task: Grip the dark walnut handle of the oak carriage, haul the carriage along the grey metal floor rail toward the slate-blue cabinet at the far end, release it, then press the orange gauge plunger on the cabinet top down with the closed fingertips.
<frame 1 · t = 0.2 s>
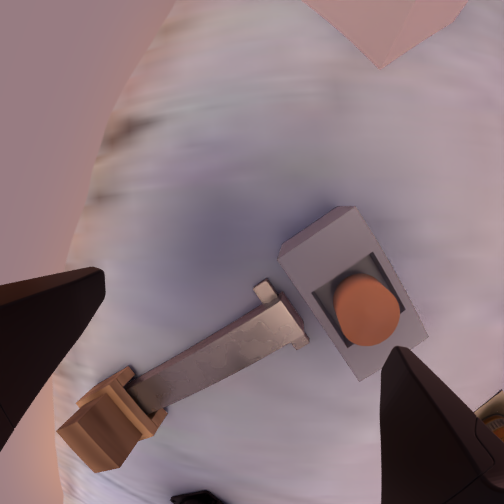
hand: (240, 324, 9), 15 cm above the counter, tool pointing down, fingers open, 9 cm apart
condiment: (482, 428, 23), on the counter
carriage: (109, 423, 23), point 5 cm above the counter, slide at 0.0 cm
plunger: (364, 307, 15), point 8 cm above the counter, slide at 1.5 cm
cabinet: (342, 274, 23), on the counter
rail: (186, 368, 26), on the counter
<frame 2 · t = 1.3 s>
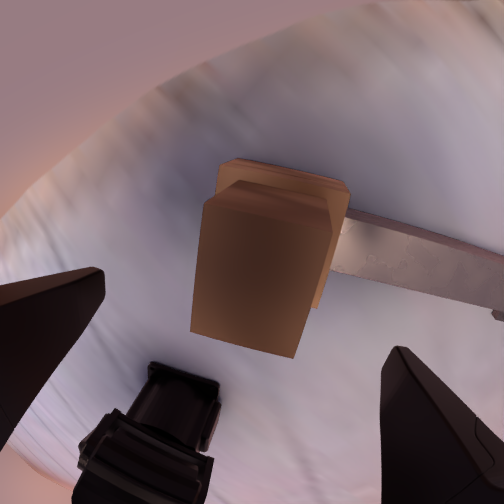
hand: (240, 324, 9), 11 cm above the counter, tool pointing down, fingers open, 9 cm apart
carriage: (270, 244, 14), point 5 cm above the counter, slide at 0.0 cm
rail: (405, 248, 18), on the counter
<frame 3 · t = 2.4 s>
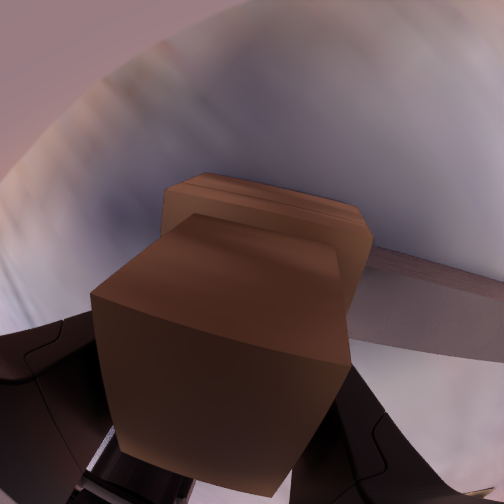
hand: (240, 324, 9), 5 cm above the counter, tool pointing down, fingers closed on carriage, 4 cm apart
carriage: (243, 314, 9), point 5 cm above the counter, slide at 0.0 cm, touching gripper
rail: (434, 294, 13), on the counter
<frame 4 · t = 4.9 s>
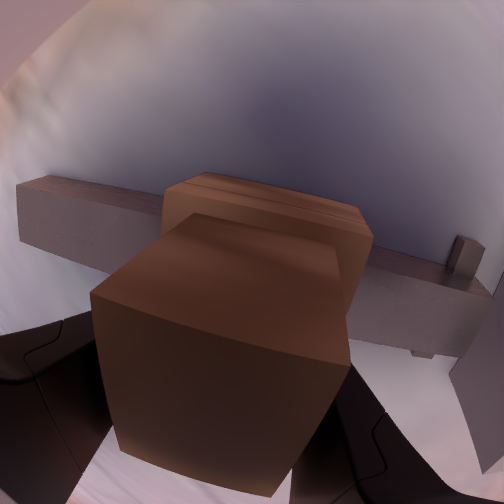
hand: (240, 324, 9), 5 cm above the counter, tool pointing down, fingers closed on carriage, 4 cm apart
carriage: (243, 314, 9), point 5 cm above the counter, slide at 9.4 cm, touching gripper
rail: (235, 246, 14), on the counter
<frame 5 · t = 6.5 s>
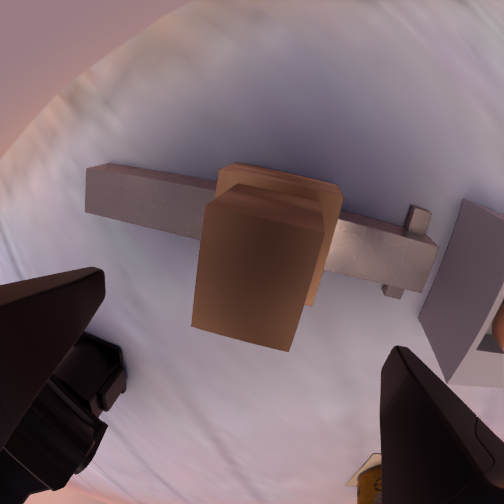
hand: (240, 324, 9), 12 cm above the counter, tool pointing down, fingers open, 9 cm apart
condiment: (385, 469, 28), on the counter
carriage: (267, 244, 15), point 5 cm above the counter, slide at 9.4 cm
cabinet: (469, 269, 18), on the counter
rail: (254, 213, 19), on the counter
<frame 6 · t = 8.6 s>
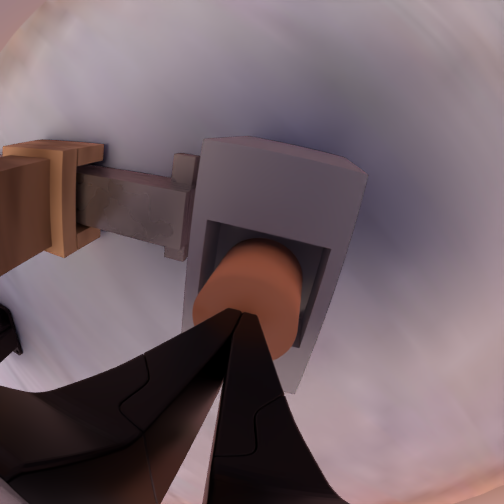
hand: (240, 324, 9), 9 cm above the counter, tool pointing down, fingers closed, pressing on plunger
carriage: (22, 201, 14), point 5 cm above the counter, slide at 9.4 cm
plunger: (253, 298, 10), point 8 cm above the counter, slide at 1.1 cm, touching gripper
cabinet: (278, 227, 17), on the counter
rail: (58, 181, 18), on the counter
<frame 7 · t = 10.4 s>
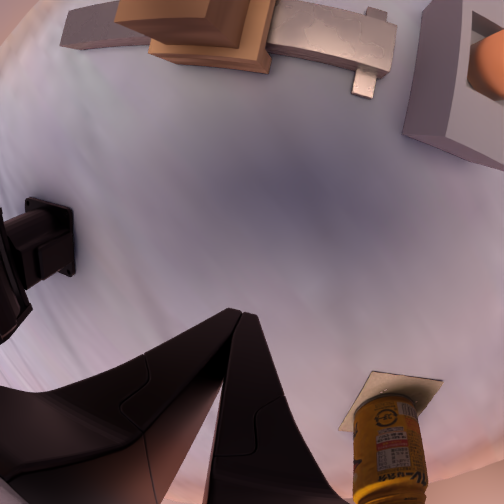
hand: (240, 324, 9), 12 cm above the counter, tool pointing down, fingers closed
condiment: (389, 405, 24), on the counter
carriage: (207, 1, 11), point 5 cm above the counter, slide at 9.4 cm
plunger: (503, 67, 8), point 7 cm above the counter, slide at 0.2 cm
cabinet: (449, 83, 14), on the counter
rail: (210, 26, 16), on the counter
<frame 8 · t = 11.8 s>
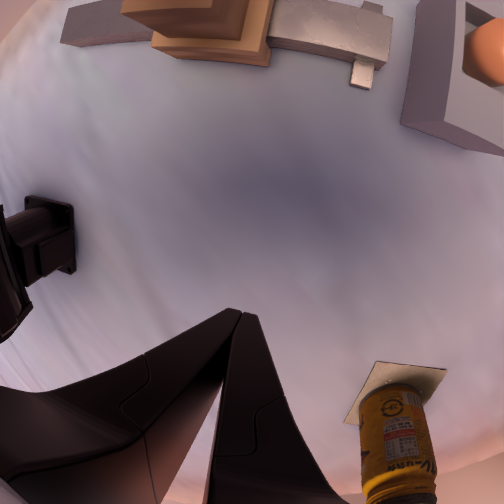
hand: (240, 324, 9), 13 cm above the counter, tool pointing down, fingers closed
condiment: (393, 396, 24), on the counter
plunger: (496, 54, 8), point 7 cm above the counter, slide at 0.2 cm
cabinet: (445, 73, 14), on the counter
rail: (210, 21, 16), on the counter
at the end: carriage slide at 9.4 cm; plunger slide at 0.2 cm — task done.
